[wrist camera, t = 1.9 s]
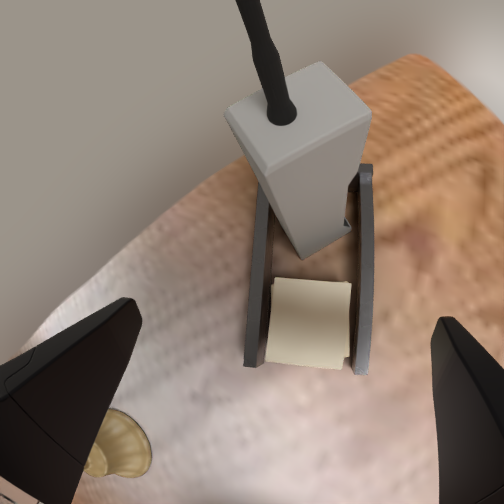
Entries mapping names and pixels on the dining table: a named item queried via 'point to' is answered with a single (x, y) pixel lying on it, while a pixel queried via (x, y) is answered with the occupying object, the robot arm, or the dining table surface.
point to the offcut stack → (309, 323)
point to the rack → (264, 263)
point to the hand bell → (119, 448)
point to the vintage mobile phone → (300, 139)
